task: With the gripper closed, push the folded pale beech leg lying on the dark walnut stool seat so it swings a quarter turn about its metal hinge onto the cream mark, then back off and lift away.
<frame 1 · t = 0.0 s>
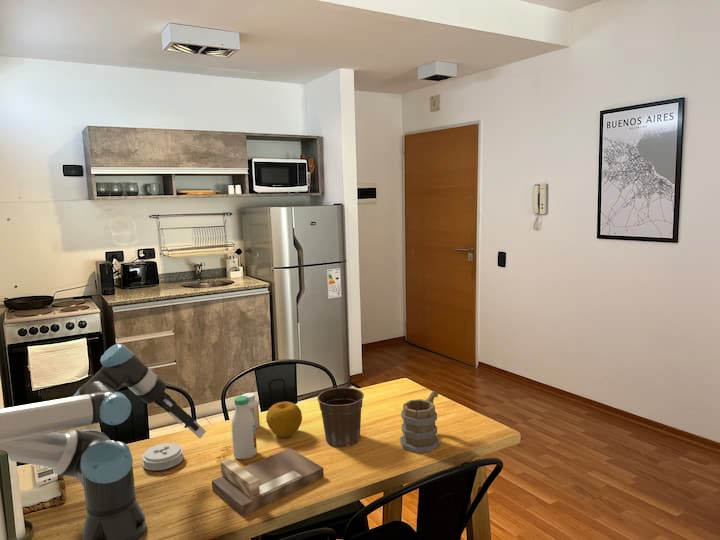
hand: (193, 427, 166), 15 cm above the table, tool tilted 35°, fingers open, 13 cm apart
lid: (163, 463, 176), on the table
apple: (285, 434, 193), on the table
supplement bottle: (250, 428, 200), on the table
folding leg: (239, 477, 155), point 5 cm above the table, hinge at 0.0°
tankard: (425, 440, 185), on the table
milk bottle: (245, 455, 179), on the table
stool seat: (268, 483, 161), on the table
plant pot: (342, 439, 188), on the table
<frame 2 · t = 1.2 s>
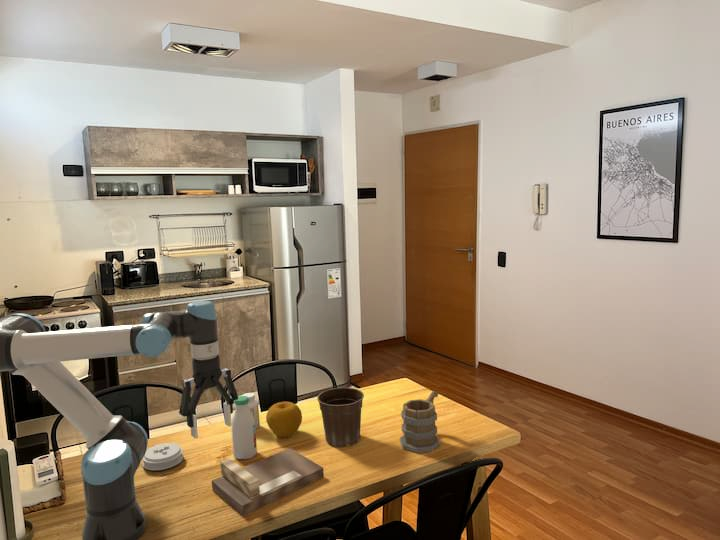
hand: (211, 430, 153), 20 cm above the table, tool pointing down, fingers open, 10 cm apart
nothing on the table moved.
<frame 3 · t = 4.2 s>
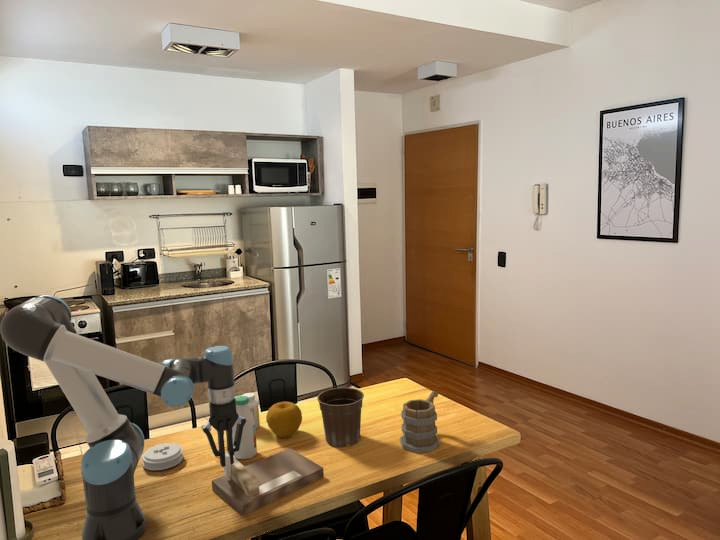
hand: (227, 475, 158), 5 cm above the table, tool pointing down, fingers closed
folding leg: (241, 476, 155), point 5 cm above the table, hinge at 5.1°, touching gripper
everything else where it was.
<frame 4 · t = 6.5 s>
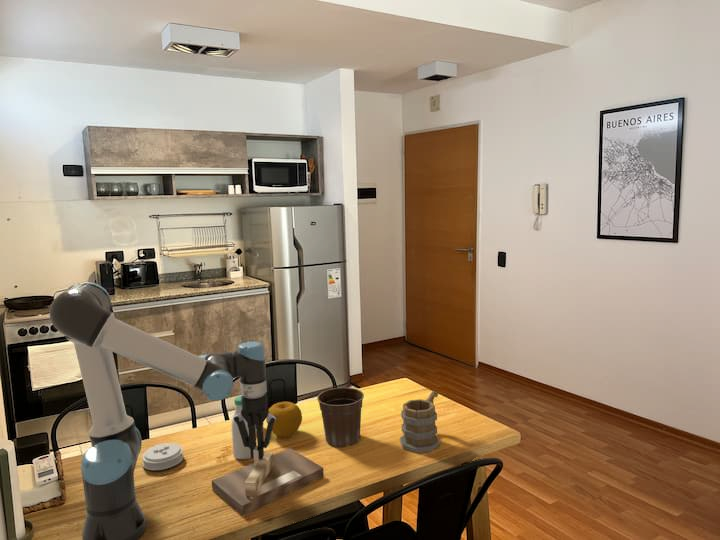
hand: (258, 467, 162), 4 cm above the table, tool pointing down, fingers closed
folding leg: (259, 473, 157), point 5 cm above the table, hinge at 49.4°, touching gripper
everything else where it was.
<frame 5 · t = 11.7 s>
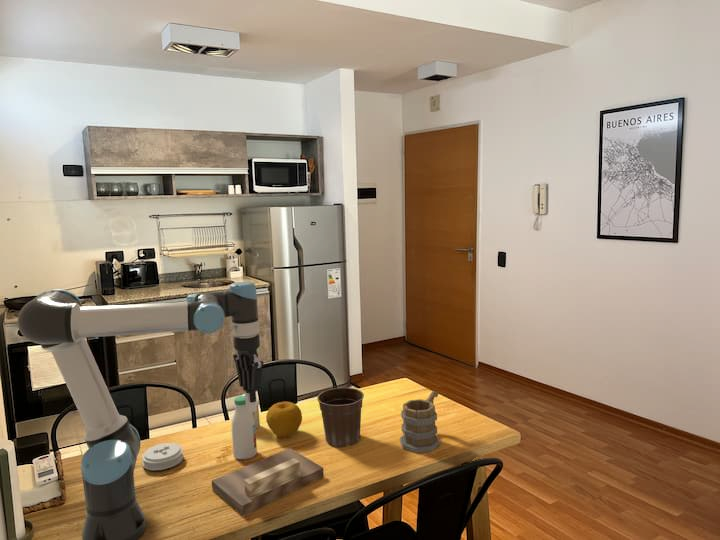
hand: (251, 411, 159), 22 cm above the table, tool pointing down, fingers closed
folding leg: (273, 476, 154), point 5 cm above the table, hinge at 89.9°
everything else where it was.
at the end: folding leg at +90° (first picture: +0°); milk bottle moved 0.2 cm from its start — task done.
